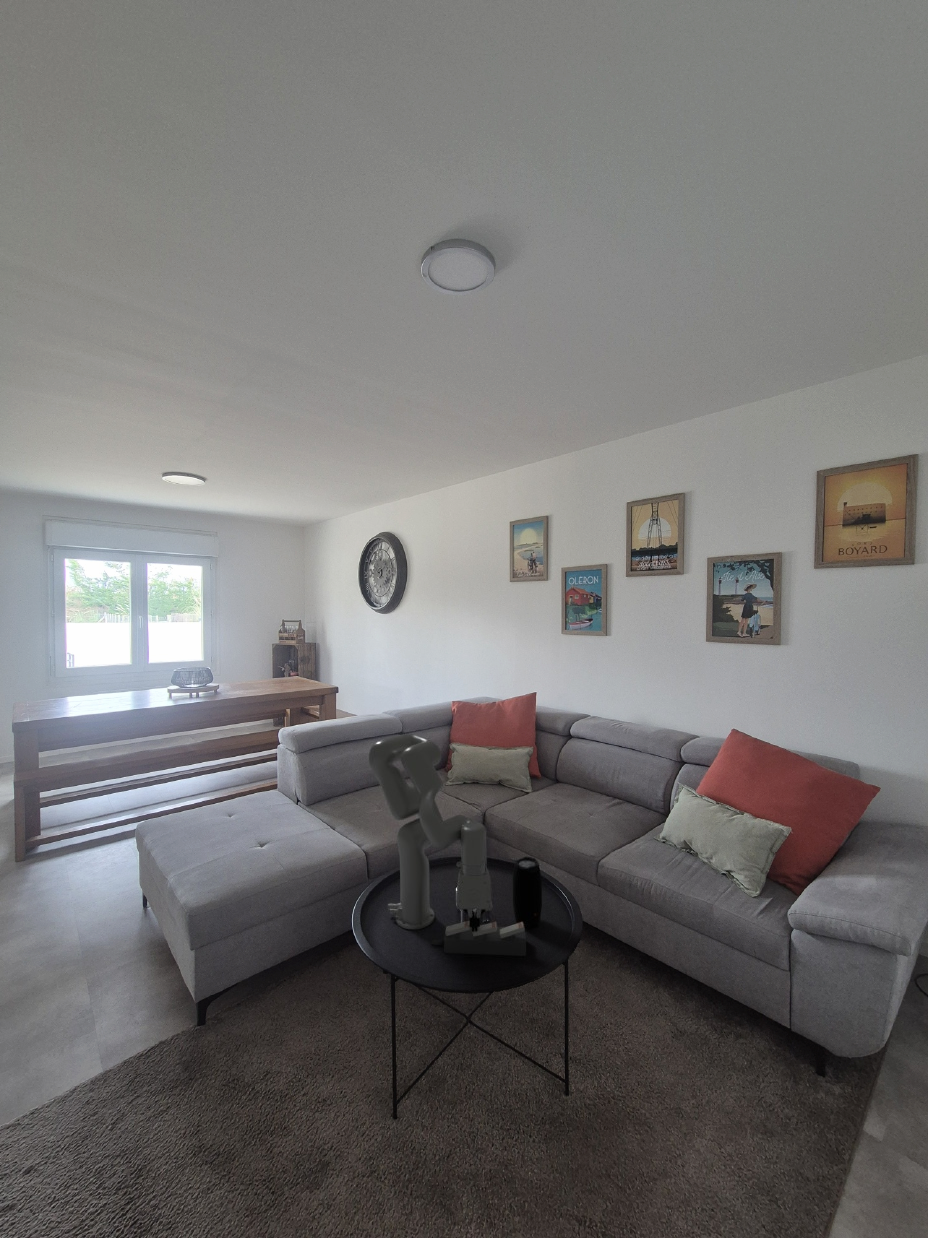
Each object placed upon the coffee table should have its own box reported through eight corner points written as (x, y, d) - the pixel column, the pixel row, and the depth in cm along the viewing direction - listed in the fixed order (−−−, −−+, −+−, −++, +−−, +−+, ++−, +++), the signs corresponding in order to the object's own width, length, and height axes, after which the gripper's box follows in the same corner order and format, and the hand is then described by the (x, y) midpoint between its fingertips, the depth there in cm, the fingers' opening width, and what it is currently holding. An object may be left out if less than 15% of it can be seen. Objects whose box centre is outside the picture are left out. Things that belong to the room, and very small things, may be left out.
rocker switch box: (430, 952, 148) (430, 934, 148) (433, 937, 155) (433, 920, 155) (526, 956, 146) (525, 938, 146) (524, 940, 153) (524, 923, 153)
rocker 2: (473, 936, 147) (472, 932, 147) (474, 931, 150) (472, 927, 150) (497, 931, 147) (495, 927, 147) (497, 925, 149) (496, 921, 149)
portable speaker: (544, 929, 158) (544, 867, 158) (515, 931, 157) (514, 869, 157) (538, 914, 167) (538, 855, 167) (510, 915, 166) (510, 856, 166)
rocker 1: (446, 936, 148) (445, 931, 148) (447, 930, 151) (446, 926, 151) (469, 929, 147) (468, 925, 147) (470, 924, 150) (469, 920, 150)
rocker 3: (501, 938, 147) (499, 934, 147) (501, 933, 149) (499, 929, 149) (524, 931, 146) (522, 926, 146) (523, 925, 149) (522, 921, 149)
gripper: (447, 872, 146) (448, 936, 145) (499, 873, 144) (500, 937, 144) (450, 860, 153) (451, 920, 153) (499, 861, 152) (500, 922, 152)
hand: (474, 928), depth 148 cm, fingers closed
